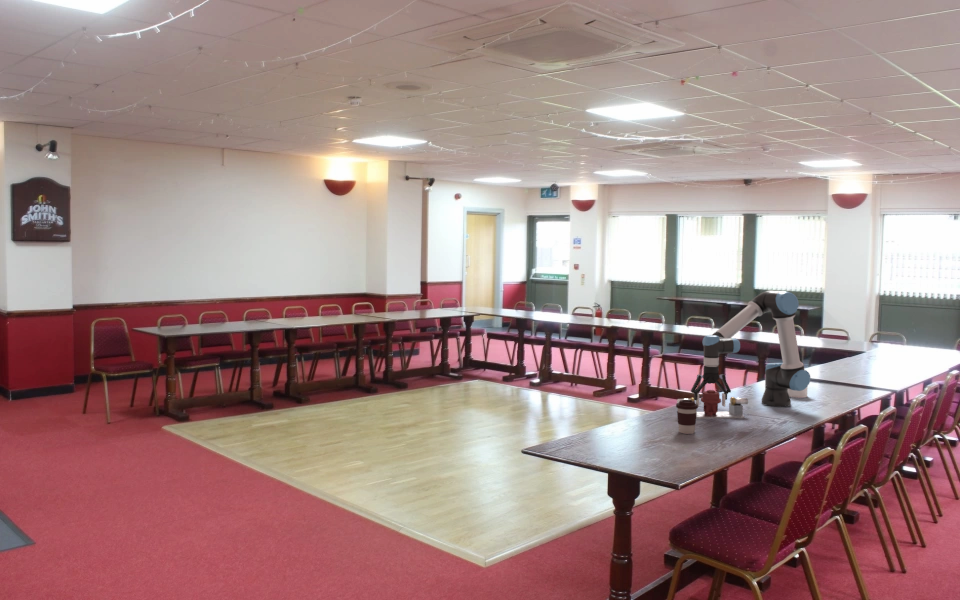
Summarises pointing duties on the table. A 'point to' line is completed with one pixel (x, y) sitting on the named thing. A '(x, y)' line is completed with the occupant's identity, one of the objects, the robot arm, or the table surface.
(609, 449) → the table surface
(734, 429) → the table surface
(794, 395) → the cup
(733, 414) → the shaft bed
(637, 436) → the table surface
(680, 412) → the coffee cup
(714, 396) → the mechanical component
